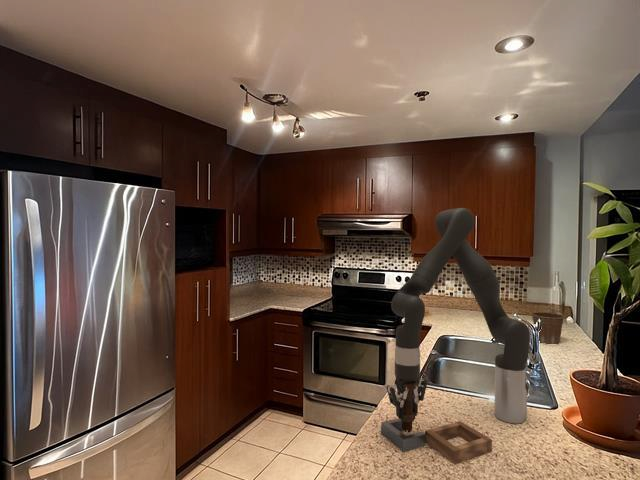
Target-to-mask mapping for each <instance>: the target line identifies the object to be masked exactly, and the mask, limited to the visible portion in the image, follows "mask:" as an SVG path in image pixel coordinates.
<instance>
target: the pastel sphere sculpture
mask: <svg viewBox="0 0 640 480" xmlns="http://www.w3.org/2000/svg"><path fill="white" fill-rule="evenodd" d="M429 310H430V308H429V307H428V306H425V315H424V316H426V317H429V316H428V315H430V316H432V315H431V314H432V313H430V312H429Z"/></svg>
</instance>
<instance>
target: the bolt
mask: <svg viewBox="0 0 640 480" xmlns="http://www.w3.org/2000/svg"><path fill="white" fill-rule="evenodd" d="M406 386H407V390H409V391H408V393H407V397H406V400H405V401H404V404H403V407H404V417H403V419H402V428H403V430H404V431H403V432H404V433H411V432H412V431H413V423H414V421H415V420H416V416H415V413H414V412H413V411H412V406H413V390H414V389H415V388H416V386H417V382H411V383H406V384H403V390H405V388H406ZM400 420H401V419H400Z"/></svg>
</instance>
